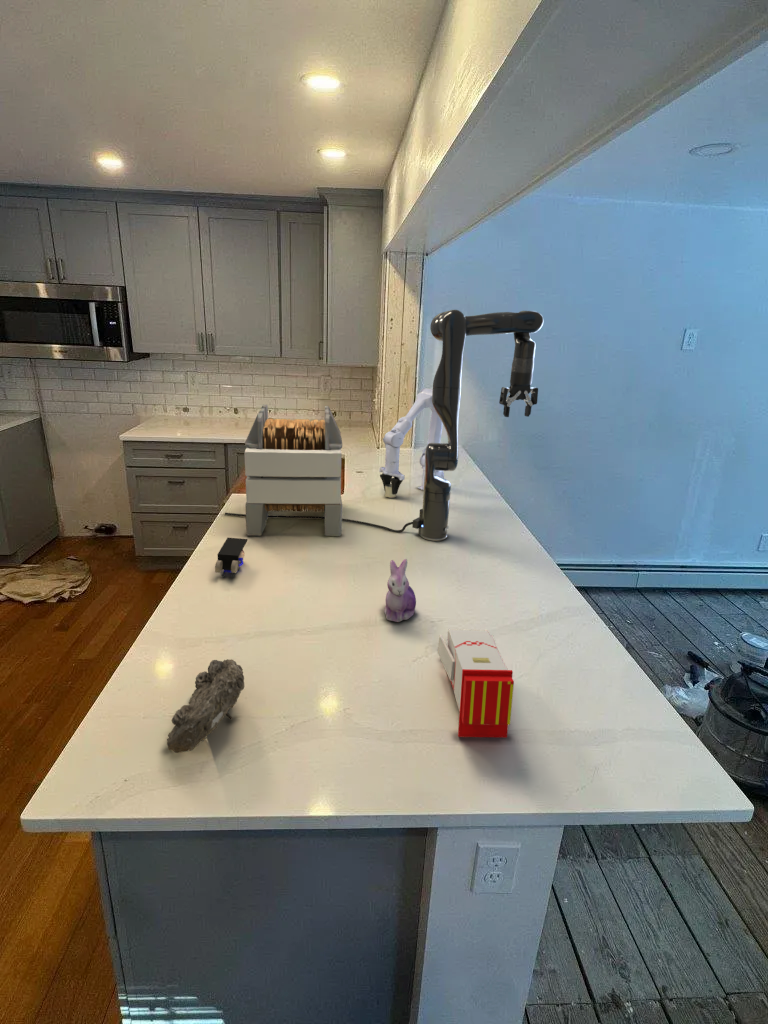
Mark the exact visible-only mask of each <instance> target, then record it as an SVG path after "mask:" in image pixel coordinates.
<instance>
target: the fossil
mask: <svg viewBox="0 0 768 1024" xmlns="http://www.w3.org/2000/svg"><path fill="white" fill-rule="evenodd" d="M243 670H244V669H243V667H242V665H240V664H237V662H236V661H235V660H234V659H232V658H231V659H227V658H226V659H224V660H223V661H222V660H217V659H212V660H211V661H210V663H209V665H208V666H207V671H201V672H199V673H198V674H197V675H196V676H195V680H194V684H195V685H194V687H195V689H194V690H193V693H192V694H191V697H190V698H189V700H188V704H184V705H182V706H181V707H180V709H177V710H176V711H175V713H174V715H173V716H172V718H171V723H172V724H173V727H172V730H171V731H170V732H168V734H167V738H166V741H167V742H166V745H167V749H168V750H169V751H173V752H174V753H176V754H178V753H182V752H188V751H189V752H192V751H193V750H195V748H196V747H197V746H199V744H200V743H201V742H203V741H204V740H205V739H206V738H207V737H208V736H209V735H210V734H211V733H212V732H214V730H215V729H217V727H218V726H219V724H220V722H221V721H222V720H223V719H224V718H225V716H226V717H227V719H229V720H233V717H232V715H230V714H229V710H230V709H231V708H234V706H235V704H236V703H237V702H238V699H239V697H240V695H241V693H242V691H243V690H245V689H244V688H245V675H244V671H243Z"/></svg>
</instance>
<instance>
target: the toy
mask: <svg viewBox="0 0 768 1024" xmlns="http://www.w3.org/2000/svg"><path fill="white" fill-rule="evenodd" d="M446 640H447V643H446V641H445V639H444V636H443V635H442V634H439V637H438V646H437V656H438V657H439V659H440V661H441V663H442V666H443V668H444V670H445V672H446V674H447V677H448V679H449V681H450V684H451V687H452V690H453V693H454V697H455V701H456V705H457V708H458V711H459V714H458V715H459V716H458V730H457V731H458V732H457V737H458V738H508V731H509V726H510V725H511V717H512V707H513V697H514V696H513V695H514V684H515V680H514V679H513V673H514V671H513V670H512V669H508V667H507V665H506V662H505V661H504V659H503V658H502V655H501V653H500V651H499V649H498V647H497V643H496V639H495V637H494V635H493V634H491V632H490V631H489V629H467V628H466V629H465V628H463V629H461V628H460V629H459V628H448V630H447V639H446Z"/></svg>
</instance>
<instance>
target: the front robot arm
mask: <svg viewBox="0 0 768 1024" xmlns="http://www.w3.org/2000/svg"><path fill="white" fill-rule="evenodd" d="M543 325H544V317H543V315H542V313H540V312H539V311H536V310H521V311H519V312H512V311H500V312H499V311H497V312H489V313H482V314H475V315H465V314H464V313H463V312H462V311H461V310H459V309H450V310H446V311H442V312H440V313H438V314H436V315H435V316H434V317H433V318H432V320H431V322H430V326H429V327H430V333H431V335H432V337H433V338H434V339H435V340H437V341H439V342H442V350H441V357H440V361H439V364H438V366H437V369H436V371H435V374H434V376H433V377H434V378H433V380H432V381H433V382H432V389H433V391H432V403H433V406H434V409H435V411H436V412H437V414H438V416H439V418H440V419H441V421H442V423H443V427H444V429H445V432H446V436H447V442H446V443H445V442H440V443H429V444H428V445H427V444H426V447H425V448H426V451H425V477H424V490H423V493H422V496H423V497H422V506H421V508H420V509H419V516H418V517H416V518H414V519H413V520H412V521H409V522H407V523H406V524H404V525H403V527H402V528H401V529H393V528H391V527H387V526H384V525H379V524H376V523H370V522H366V521H361V520H356V519H348V518H342V522H348V523H353V524H360V525H366V526H370V527H374V528H379V529H382V530H386V531H389V532H393V533H403V532H404V531H405V530H406V528H407V527H408V526H412V528H413V529H416V530H417V535H418V536H420V538H421V539H424V540H426V541H432V542H440V541H444V540H446V539H447V538H448V529H449V527H450V526H449V517H450V516H449V514H450V504H451V494H452V493H451V491H452V483H451V482H450V480H448V479H446V478H445V477H444V478H441V477H439V476H437V475H436V474H435V471H443V472H454V471H456V469H457V467H458V463H459V419H460V407H461V396H462V395H461V393H462V373H463V372H462V371H463V356H464V349H465V344H466V343H465V342H466V337H468V336H489V335H490V336H491V335H493V336H494V335H508V334H513V341H514V351H513V359H512V362H511V370H510V378H509V387H505V386H502V387H501V388H500V396H499V402H498V403H499V405H502V406H503V412H502V414H503V417H505V418H509V417H510V413H511V412H510V411H511V407H510V406H511V405H512V404H513V403H514V402H515V401H524V403H525V407H524V414H523V415H524V416H525V417H530V416H531V414H532V407H533V406H534V405H537V404H538V396H539V388H538V387H536V386H532V387H531V385H533V384H532V383H533V375H534V369H535V368H534V367H535V355H536V342H535V341H534V340H533V339H532V338H531V334H534V333H538V331H540V330H541V328H542V327H543ZM224 515H225V516H231V517H233V516H234V517H242V518H243V517H245V518H246V513H245V514H244V513H234V512H224ZM268 519H314V520H315V519H316V520H324V516H317V515H282V514H281V515H279V514H278V515H277V514H274V515H273V514H272V515H271V514H268Z"/></svg>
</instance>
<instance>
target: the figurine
mask: <svg viewBox="0 0 768 1024" xmlns="http://www.w3.org/2000/svg"><path fill="white" fill-rule="evenodd" d="M407 567H408V559H406V558H404V559H403V560H402V561H401V563H400V565H399V566H398V565H397V563H396V562H395V561H394V560H393V559H391V560H390V561H389V570H390V576H389V578H388V579H387V589H388V591H387V592H386V594H385V595H386V596H385V607H384V615H385V616H386V620H387V621H391V622H395V623H400V622H402V621H406V620H409V619H410V618H411V617H413V616H414V615H415V610H416V606H417V597H416V593H415V591H414V590H413V587H411V586H410V582H409V579H408V577H407V574H406V571H407Z"/></svg>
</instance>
